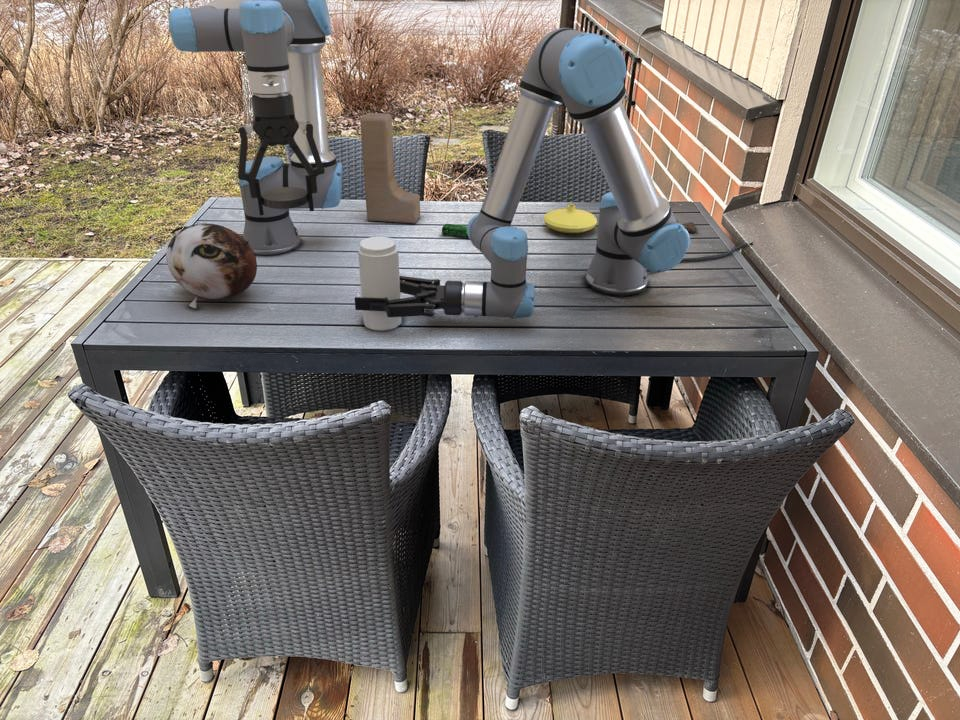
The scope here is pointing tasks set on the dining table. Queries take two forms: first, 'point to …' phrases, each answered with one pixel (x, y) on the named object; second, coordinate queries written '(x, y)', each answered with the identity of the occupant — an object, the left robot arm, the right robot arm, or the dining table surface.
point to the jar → (379, 278)
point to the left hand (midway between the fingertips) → (286, 210)
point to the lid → (284, 197)
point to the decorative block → (384, 174)
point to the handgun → (455, 230)
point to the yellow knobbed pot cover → (570, 220)
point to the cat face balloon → (211, 261)
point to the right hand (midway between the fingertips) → (359, 294)
